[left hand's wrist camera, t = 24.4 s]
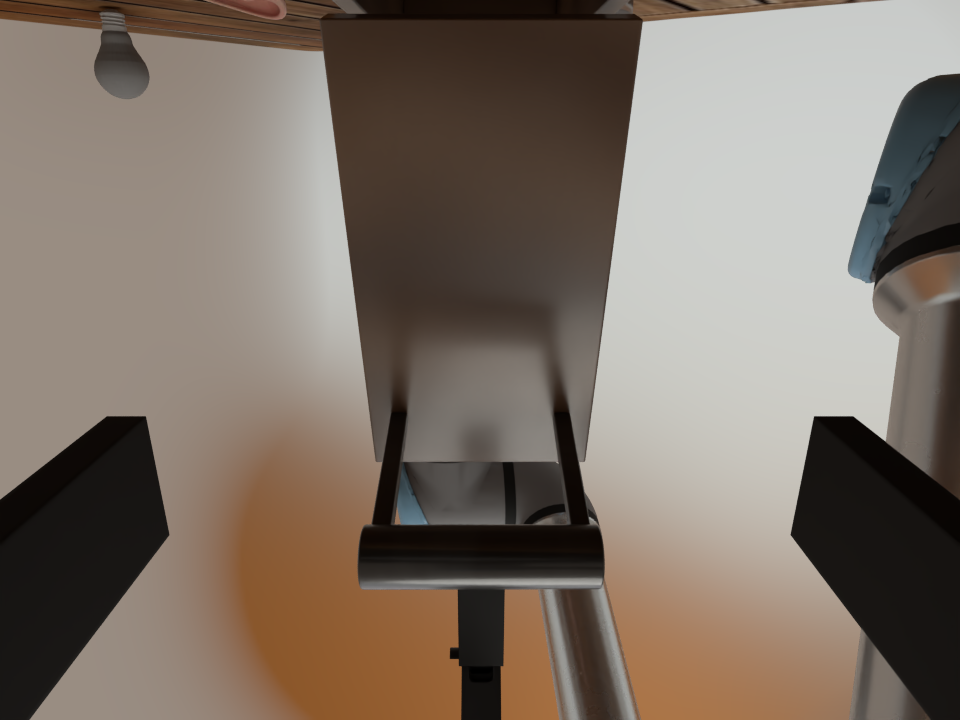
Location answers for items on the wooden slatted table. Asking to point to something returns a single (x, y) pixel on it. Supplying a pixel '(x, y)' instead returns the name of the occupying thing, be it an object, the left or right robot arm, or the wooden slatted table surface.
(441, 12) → the chest
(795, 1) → the wooden slatted table surface
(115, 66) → the light bulb
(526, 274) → the lid
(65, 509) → the left robot arm
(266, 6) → the anatomical model
